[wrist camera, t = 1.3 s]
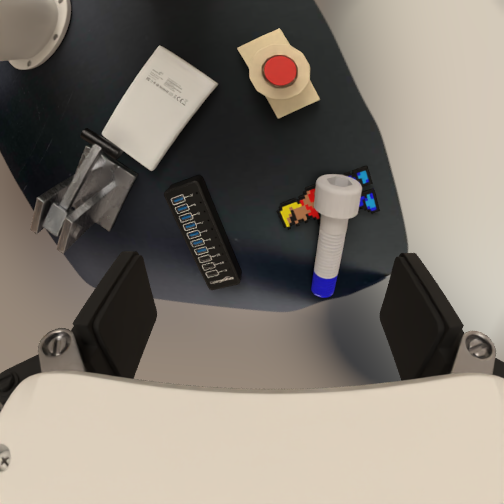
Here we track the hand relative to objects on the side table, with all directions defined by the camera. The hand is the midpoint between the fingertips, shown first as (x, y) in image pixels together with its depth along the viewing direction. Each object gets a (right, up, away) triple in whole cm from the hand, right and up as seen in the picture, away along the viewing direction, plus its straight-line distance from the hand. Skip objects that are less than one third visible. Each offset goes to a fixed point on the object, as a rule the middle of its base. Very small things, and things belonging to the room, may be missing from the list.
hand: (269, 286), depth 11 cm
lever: (-19, +8, +17) cm, 27 cm away
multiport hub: (-6, +4, +27) cm, 28 cm away
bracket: (-20, +10, +24) cm, 33 cm away
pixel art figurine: (+8, +7, +24) cm, 27 cm away
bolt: (+6, +2, +24) cm, 25 cm away
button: (+2, +19, +15) cm, 24 cm away
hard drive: (-11, +18, +20) cm, 29 cm away
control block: (+2, +20, +17) cm, 26 cm away
